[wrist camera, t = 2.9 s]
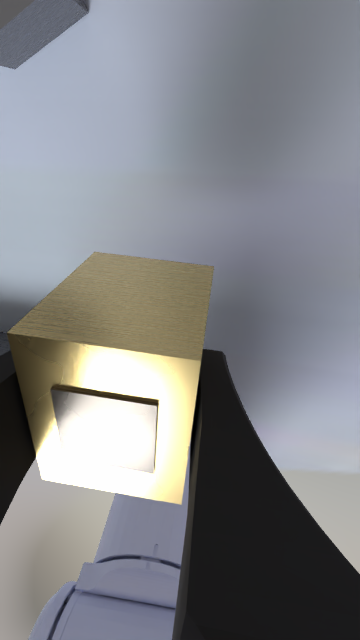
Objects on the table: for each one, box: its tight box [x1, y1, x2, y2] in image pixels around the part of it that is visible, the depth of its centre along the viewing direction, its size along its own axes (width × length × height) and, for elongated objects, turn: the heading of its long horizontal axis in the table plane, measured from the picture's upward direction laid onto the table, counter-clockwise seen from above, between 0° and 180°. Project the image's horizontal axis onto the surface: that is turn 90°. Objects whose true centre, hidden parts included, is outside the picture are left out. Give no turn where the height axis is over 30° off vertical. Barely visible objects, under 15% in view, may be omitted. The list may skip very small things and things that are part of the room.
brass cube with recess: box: [7, 252, 214, 505], centre depth 10 cm, size 5×4×5 cm
